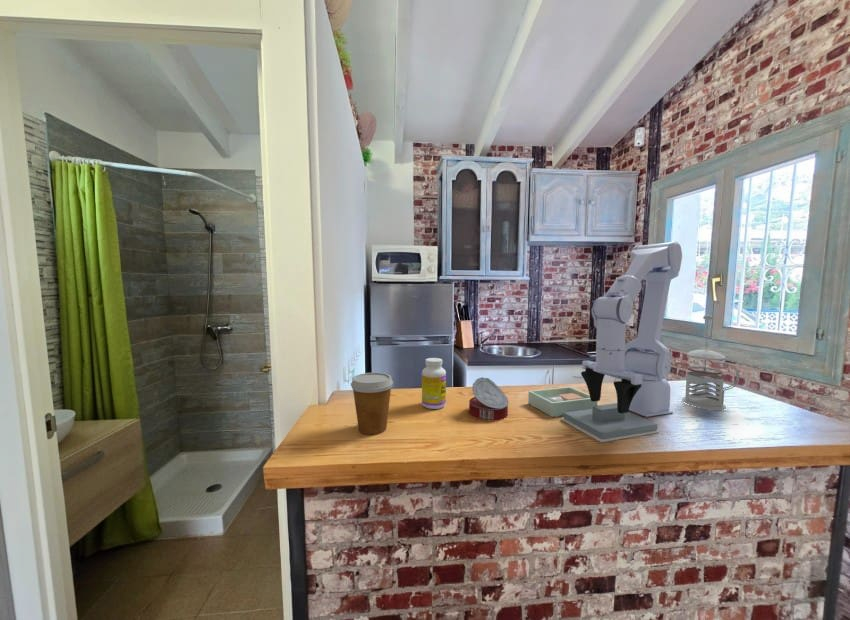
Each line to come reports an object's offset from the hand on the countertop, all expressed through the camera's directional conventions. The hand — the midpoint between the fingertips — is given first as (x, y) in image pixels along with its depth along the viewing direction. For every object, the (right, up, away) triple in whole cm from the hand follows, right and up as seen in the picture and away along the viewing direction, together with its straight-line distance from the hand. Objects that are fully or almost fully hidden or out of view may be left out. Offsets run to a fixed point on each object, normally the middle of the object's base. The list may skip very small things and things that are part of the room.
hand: (608, 406), depth 73 cm
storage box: (-6, -4, +12) cm, 14 cm away
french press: (+36, -4, +14) cm, 38 cm away
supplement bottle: (-40, -4, +14) cm, 43 cm away
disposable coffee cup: (-55, -5, -1) cm, 55 cm away
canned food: (-26, -5, +8) cm, 28 cm away
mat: (0, -5, 0) cm, 5 cm away
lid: (0, -4, 0) cm, 4 cm away
